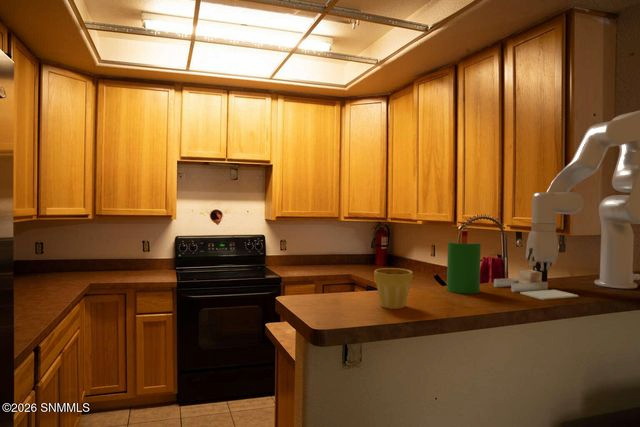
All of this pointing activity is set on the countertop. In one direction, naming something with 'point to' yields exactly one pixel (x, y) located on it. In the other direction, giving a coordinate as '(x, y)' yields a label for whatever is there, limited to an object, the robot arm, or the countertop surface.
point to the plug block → (530, 276)
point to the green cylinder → (463, 266)
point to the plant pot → (393, 286)
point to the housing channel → (520, 285)
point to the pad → (548, 294)
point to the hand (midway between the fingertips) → (541, 281)
